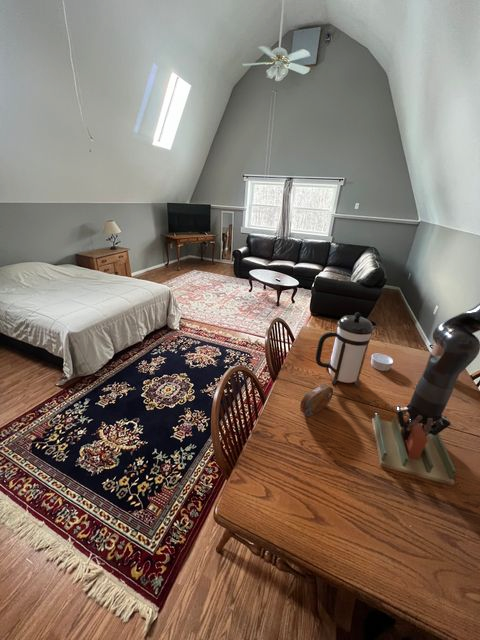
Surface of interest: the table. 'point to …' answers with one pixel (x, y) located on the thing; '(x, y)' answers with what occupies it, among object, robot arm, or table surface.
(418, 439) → the block
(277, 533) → the table surface
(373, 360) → the ramekin
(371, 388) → the table surface
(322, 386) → the brown flat oval slab
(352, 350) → the coffee press
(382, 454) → the rack
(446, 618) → the table surface
